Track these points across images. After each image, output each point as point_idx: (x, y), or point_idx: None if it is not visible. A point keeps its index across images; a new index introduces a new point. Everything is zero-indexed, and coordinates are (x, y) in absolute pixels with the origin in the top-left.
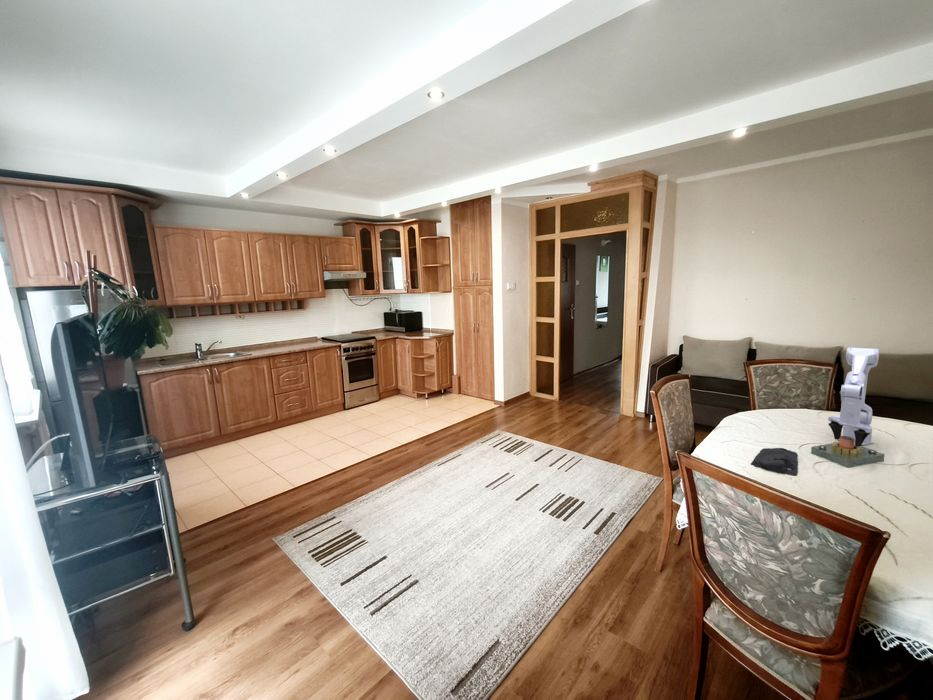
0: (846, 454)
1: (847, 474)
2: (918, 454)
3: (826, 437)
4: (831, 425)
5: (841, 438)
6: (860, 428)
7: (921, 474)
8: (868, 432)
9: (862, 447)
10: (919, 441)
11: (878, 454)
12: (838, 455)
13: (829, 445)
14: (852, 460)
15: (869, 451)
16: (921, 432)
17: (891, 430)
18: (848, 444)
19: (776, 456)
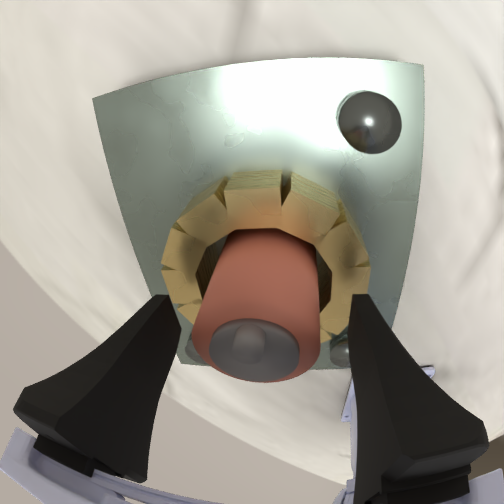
0: (196, 186)
1: (59, 27)
2: (231, 426)
3: (468, 351)
4: (439, 436)
5: (265, 302)
6: (86, 483)
7: (82, 321)
8: (15, 432)
9: None
10: (299, 462)
11: (178, 344)
12: (186, 103)
13: (387, 235)
14: (102, 136)
15: None
16: (331, 477)
17: None
18: (212, 281)
19: None
